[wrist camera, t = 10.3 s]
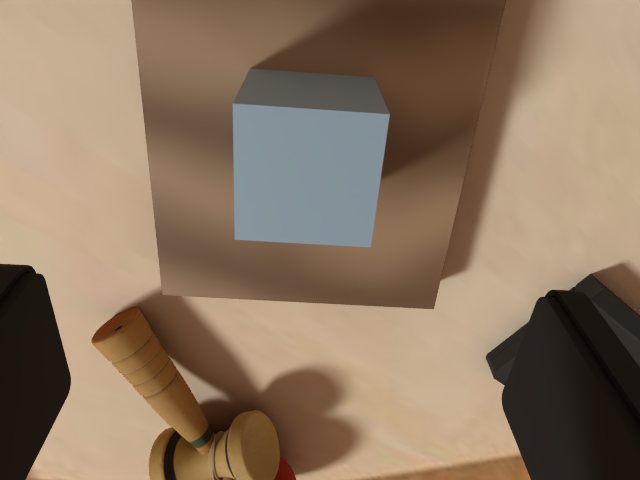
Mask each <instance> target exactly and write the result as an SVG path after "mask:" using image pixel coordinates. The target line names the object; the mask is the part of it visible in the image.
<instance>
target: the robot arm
mask: <svg viewBox="0 0 640 480" xmlns="http://www.w3.org/2000/svg"><path fill="white" fill-rule="evenodd" d="M70 385H71V376H70V372H69V368H68V364H67V361H66V357H65V353H64V349H63V345H62V342H61V338H60V334H59V330H58V326H57V323H56V319H55V315H54V311H53V307H52V304H51V300H50V296H49V292H48V288H47V285H46V281H45V278H44V276H43V275H42V274H36V272H35V270H34V269H33V267H32V266H29V265H10V264H0V480H25V479H26V477H27V475H28V473H29V471H30V469H31V467H32V465H33V463H34V461H35V459H36V457H37V455H38V454H39V452H40V450H41V448H42V446H43V444H44V442H45V440H46V438H47V436H48V434H49V432H50V430H51V428H52V426H53V424H54V422H55V420H56V418H57V416H58V414H59V412H60V410H61V408H62V406H63V404H64V402H65V400H66V398H67V396H68V393H69V390H70ZM502 406H503V410H504V413H505V415H506V418H507V420H508V423H509V425H510V428H511V430H512V433H513V435H514V438H515V440H516V443H517V445H518V448H519V450H520V453H521V455H522V458H523V460H524V463H525V465H526V468H527V471H528V473H529V476H530V478H531V480H640V366H639V365H638V364H637V362H636V361H635V360H634V358H633V357H632V356H631V354H630V353H629V352H628V350H627V349H626V348H625V346H624V345H623V343H622V342H621V341H620V339H619V338H618V337H617V335H616V334H615V333H614V331H613V330H612V329H611V327H610V326H609V325H608V323H607V322H606V320H605V319H604V318H603V316H602V315H601V314H600V312H599V311H598V310H597V308H596V307H595V306H594V304H593V303H592V301H591V300H590V299H589V297H588V296H587V295H586V294H585V293H584V292H581V291H566V290H551V291H549V292H548V293H547V294H546V296H545V297H540V298H539V299H538V300H537V302H536V305H535V307H534V310H533V313H532V315H531V318H530V321H529V323H528V326H527V328H526V331H525V334H524V336H523V339H522V342H521V344H520V347H519V350H518V352H517V355H516V358H515V360H514V363H513V365H512V368H511V371H510V373H509V376H508V379H507V381H506V384H505V387H504V389H503V393H502Z"/></svg>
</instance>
